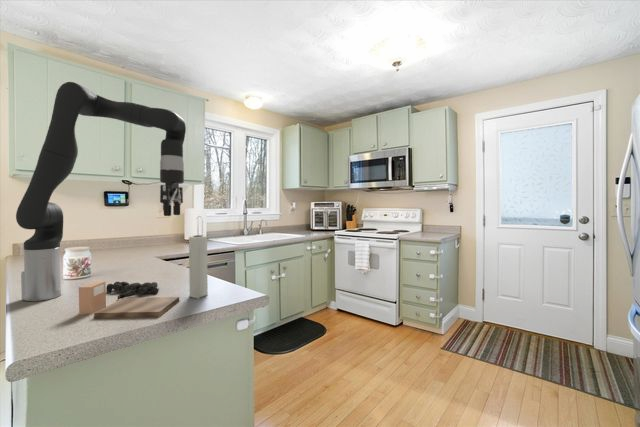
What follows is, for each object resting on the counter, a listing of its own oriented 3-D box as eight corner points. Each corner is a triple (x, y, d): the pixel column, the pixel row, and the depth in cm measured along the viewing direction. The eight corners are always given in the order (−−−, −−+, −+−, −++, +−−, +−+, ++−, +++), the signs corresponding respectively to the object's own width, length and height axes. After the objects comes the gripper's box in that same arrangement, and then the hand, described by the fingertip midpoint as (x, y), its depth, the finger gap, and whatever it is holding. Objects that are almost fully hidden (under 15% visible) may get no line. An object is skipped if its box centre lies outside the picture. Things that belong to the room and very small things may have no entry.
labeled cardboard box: (79, 314, 88) (78, 287, 88) (94, 306, 95) (94, 281, 94) (92, 313, 88) (91, 287, 88) (106, 306, 95) (105, 281, 95)
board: (94, 318, 85) (93, 313, 85) (123, 302, 99) (123, 297, 99) (159, 316, 86) (159, 311, 86) (179, 301, 100) (179, 296, 100)
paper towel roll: (196, 292, 110) (195, 234, 110) (211, 293, 109) (210, 235, 108) (183, 298, 103) (182, 236, 103) (199, 299, 102) (198, 237, 101)
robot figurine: (89, 300, 104) (138, 302, 100) (88, 288, 104) (138, 289, 100) (131, 287, 121) (174, 288, 117) (131, 276, 121) (174, 277, 117)
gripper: (168, 171, 112) (169, 214, 112) (151, 166, 98) (152, 216, 98) (189, 172, 113) (189, 215, 113) (175, 167, 99) (175, 216, 99)
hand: (172, 215), depth 106 cm, fingers open, 8 cm apart
